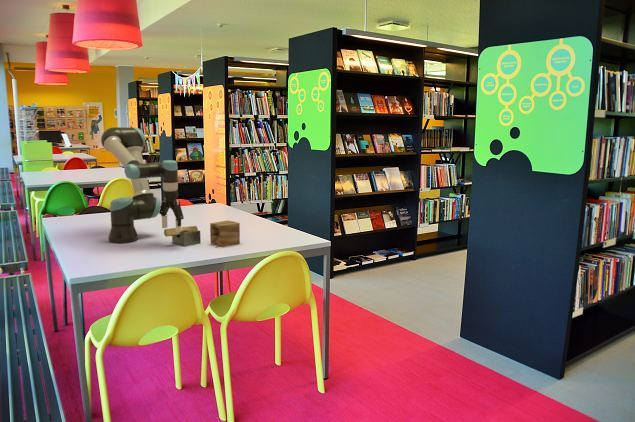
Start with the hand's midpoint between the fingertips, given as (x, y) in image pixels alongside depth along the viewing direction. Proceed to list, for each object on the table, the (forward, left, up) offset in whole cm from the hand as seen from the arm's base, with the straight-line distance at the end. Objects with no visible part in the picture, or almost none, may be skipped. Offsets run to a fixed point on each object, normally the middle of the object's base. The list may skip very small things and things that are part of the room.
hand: (171, 229), depth 263 cm
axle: (0, +5, -3) cm, 6 cm away
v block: (0, +8, -8) cm, 12 cm away
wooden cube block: (+16, +22, -8) cm, 29 cm away
